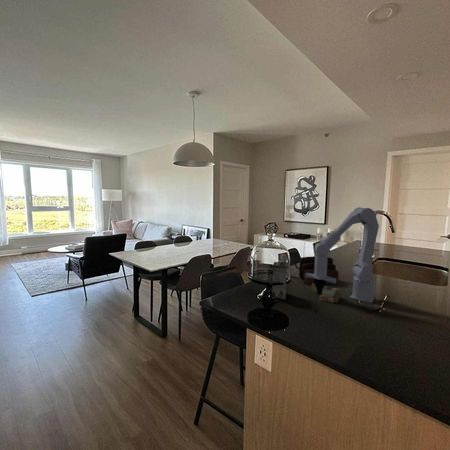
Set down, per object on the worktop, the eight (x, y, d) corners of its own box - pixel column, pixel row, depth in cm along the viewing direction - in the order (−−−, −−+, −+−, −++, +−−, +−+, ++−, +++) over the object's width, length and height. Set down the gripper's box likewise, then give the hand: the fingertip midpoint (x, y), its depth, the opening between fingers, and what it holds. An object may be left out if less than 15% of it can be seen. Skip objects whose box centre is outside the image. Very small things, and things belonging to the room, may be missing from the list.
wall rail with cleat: (341, 297, 124) (341, 289, 123) (335, 303, 116) (335, 295, 116) (312, 290, 133) (312, 283, 133) (305, 296, 126) (305, 288, 125)
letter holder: (298, 278, 154) (299, 255, 153) (331, 279, 154) (332, 256, 152) (303, 283, 144) (304, 259, 143) (338, 284, 144) (339, 260, 142)
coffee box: (272, 291, 131) (273, 261, 130) (285, 292, 130) (286, 262, 129) (272, 298, 123) (273, 266, 121) (286, 299, 121) (287, 266, 120)
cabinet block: (335, 298, 123) (336, 286, 122) (332, 301, 119) (333, 289, 118) (325, 296, 126) (325, 284, 125) (322, 299, 122) (322, 287, 122)
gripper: (303, 266, 126) (302, 292, 127) (333, 271, 117) (332, 300, 118) (308, 263, 131) (307, 289, 133) (338, 268, 122) (336, 295, 123)
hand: (319, 294), depth 126 cm, fingers closed
